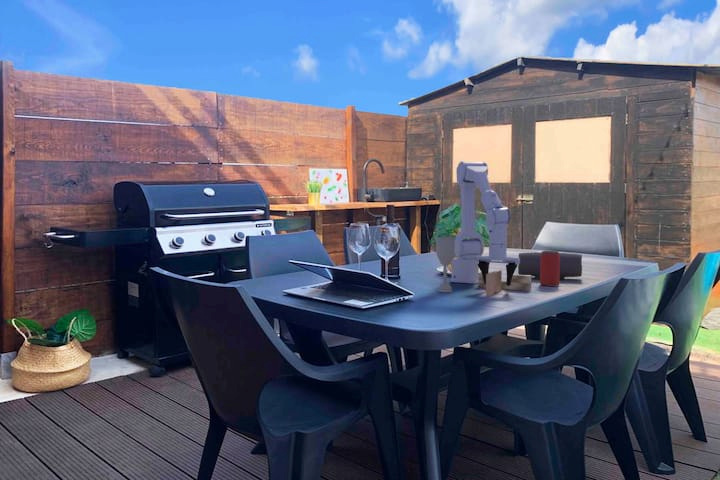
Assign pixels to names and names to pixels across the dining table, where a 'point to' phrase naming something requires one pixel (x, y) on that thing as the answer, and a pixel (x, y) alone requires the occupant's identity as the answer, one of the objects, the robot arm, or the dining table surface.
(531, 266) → the bluetooth speaker
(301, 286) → the dining table surface
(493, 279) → the tan thin board
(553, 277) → the beer can
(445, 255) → the chalice
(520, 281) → the slotted rail
